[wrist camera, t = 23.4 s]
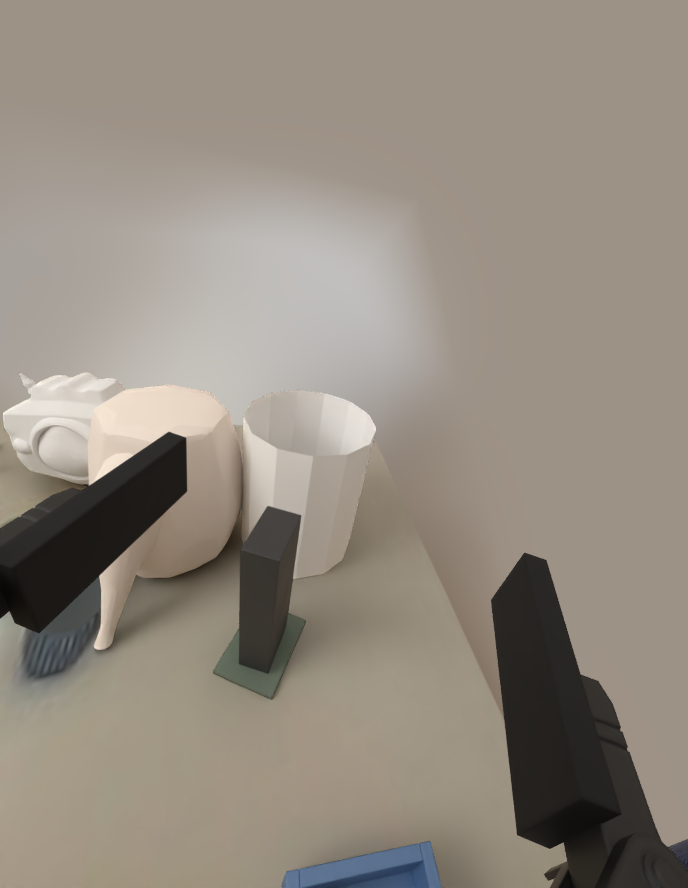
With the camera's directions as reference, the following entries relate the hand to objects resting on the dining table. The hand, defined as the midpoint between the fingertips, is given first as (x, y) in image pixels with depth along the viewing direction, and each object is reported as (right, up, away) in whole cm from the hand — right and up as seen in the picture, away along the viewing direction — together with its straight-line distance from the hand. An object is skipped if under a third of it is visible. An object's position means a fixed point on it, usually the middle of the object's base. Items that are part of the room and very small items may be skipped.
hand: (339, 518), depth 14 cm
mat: (-8, -18, +23) cm, 30 cm away
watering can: (-18, +6, +21) cm, 29 cm away
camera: (-34, -3, +39) cm, 51 cm away
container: (-6, -9, +36) cm, 38 cm away
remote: (-8, -17, +23) cm, 30 cm away
